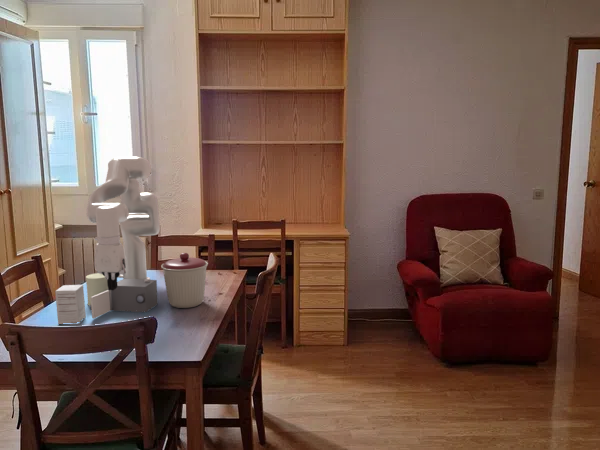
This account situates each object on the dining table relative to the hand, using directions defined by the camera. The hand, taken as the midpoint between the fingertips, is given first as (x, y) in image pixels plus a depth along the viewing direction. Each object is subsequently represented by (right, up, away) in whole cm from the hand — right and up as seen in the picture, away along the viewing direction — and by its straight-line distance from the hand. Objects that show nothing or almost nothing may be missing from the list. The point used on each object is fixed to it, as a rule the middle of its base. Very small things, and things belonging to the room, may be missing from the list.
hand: (112, 289), depth 176 cm
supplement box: (-14, -12, -2) cm, 18 cm away
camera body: (+4, -9, +13) cm, 16 cm away
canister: (+23, -9, +16) cm, 30 cm away
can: (-12, -8, +19) cm, 24 cm away
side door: (-6, -10, +4) cm, 12 cm away
